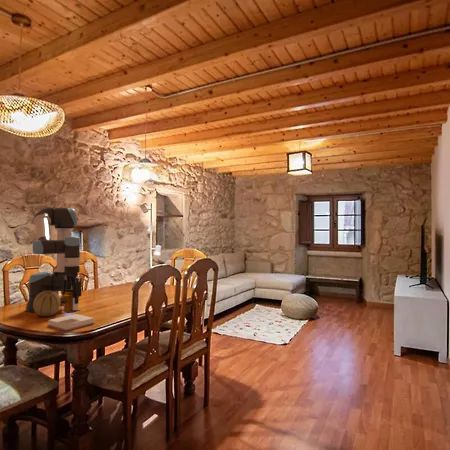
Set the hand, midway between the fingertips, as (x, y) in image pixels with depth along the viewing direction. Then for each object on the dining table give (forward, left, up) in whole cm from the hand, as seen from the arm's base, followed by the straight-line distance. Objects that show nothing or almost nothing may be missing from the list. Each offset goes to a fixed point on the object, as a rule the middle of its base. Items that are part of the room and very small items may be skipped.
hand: (71, 308), depth 186 cm
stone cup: (-58, +35, -9) cm, 68 cm away
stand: (0, 0, -8) cm, 8 cm away
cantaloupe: (-29, +3, -9) cm, 30 cm away
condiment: (0, 0, -2) cm, 2 cm away
